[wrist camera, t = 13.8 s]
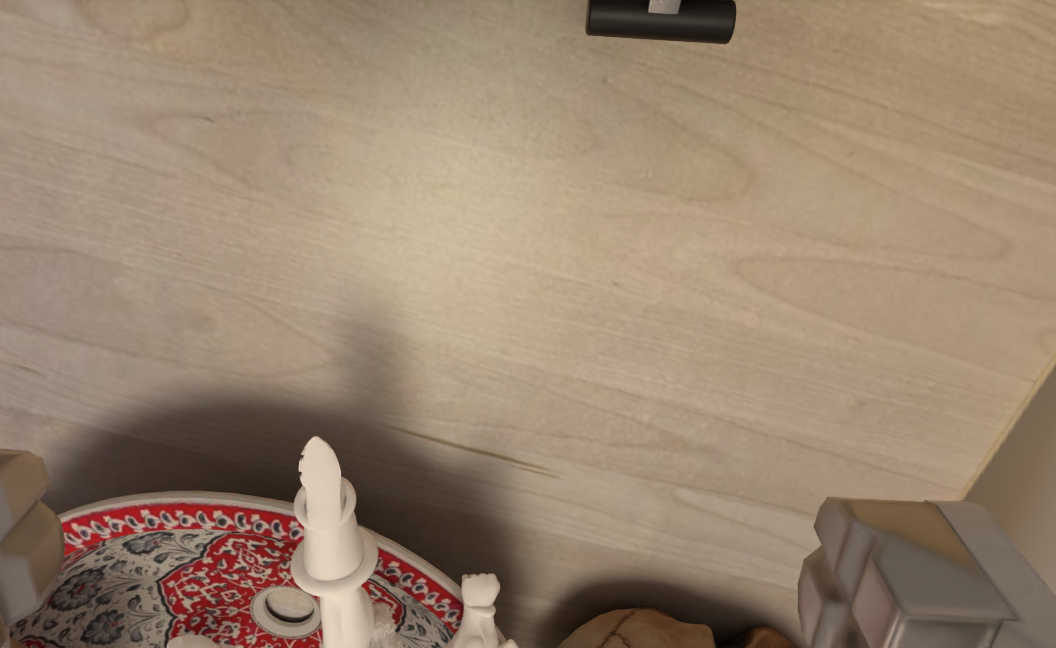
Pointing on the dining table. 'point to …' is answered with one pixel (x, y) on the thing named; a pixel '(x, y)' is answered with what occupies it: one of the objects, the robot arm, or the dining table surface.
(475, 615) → the figurine
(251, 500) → the ceramic bowl
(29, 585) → the robot arm
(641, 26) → the switch lever
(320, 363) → the dining table surface
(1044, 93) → the dining table surface
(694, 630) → the coin bank
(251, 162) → the dining table surface
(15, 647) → the toy food set
